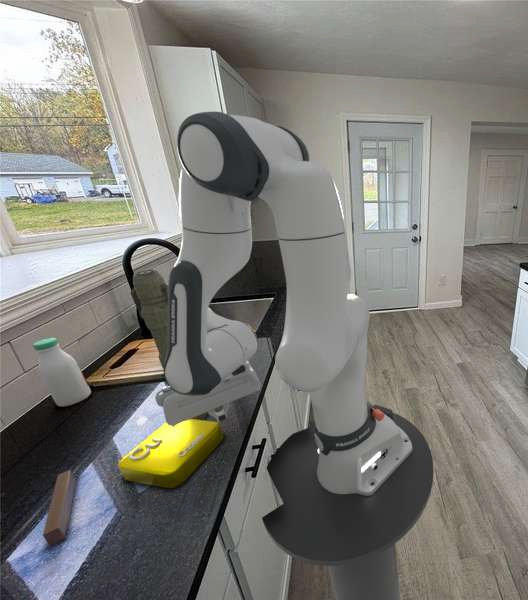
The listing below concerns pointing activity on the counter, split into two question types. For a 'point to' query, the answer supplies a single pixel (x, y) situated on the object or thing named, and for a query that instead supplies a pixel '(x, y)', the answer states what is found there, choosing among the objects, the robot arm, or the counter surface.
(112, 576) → the counter surface
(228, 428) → the counter surface
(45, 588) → the counter surface
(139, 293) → the thermos
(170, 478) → the element tile
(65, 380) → the milk bottle
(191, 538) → the counter surface
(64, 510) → the back rail
